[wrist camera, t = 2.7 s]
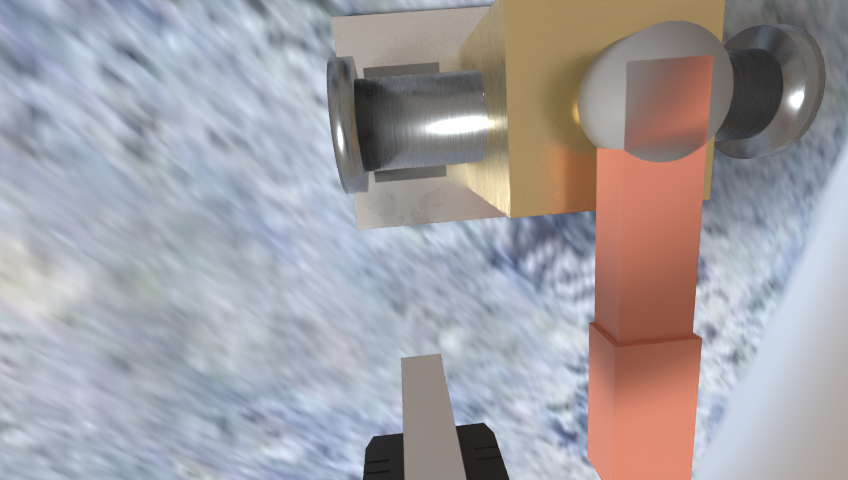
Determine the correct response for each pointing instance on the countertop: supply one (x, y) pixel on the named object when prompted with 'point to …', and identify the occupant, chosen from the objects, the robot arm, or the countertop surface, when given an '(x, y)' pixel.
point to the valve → (525, 103)
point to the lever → (649, 242)
